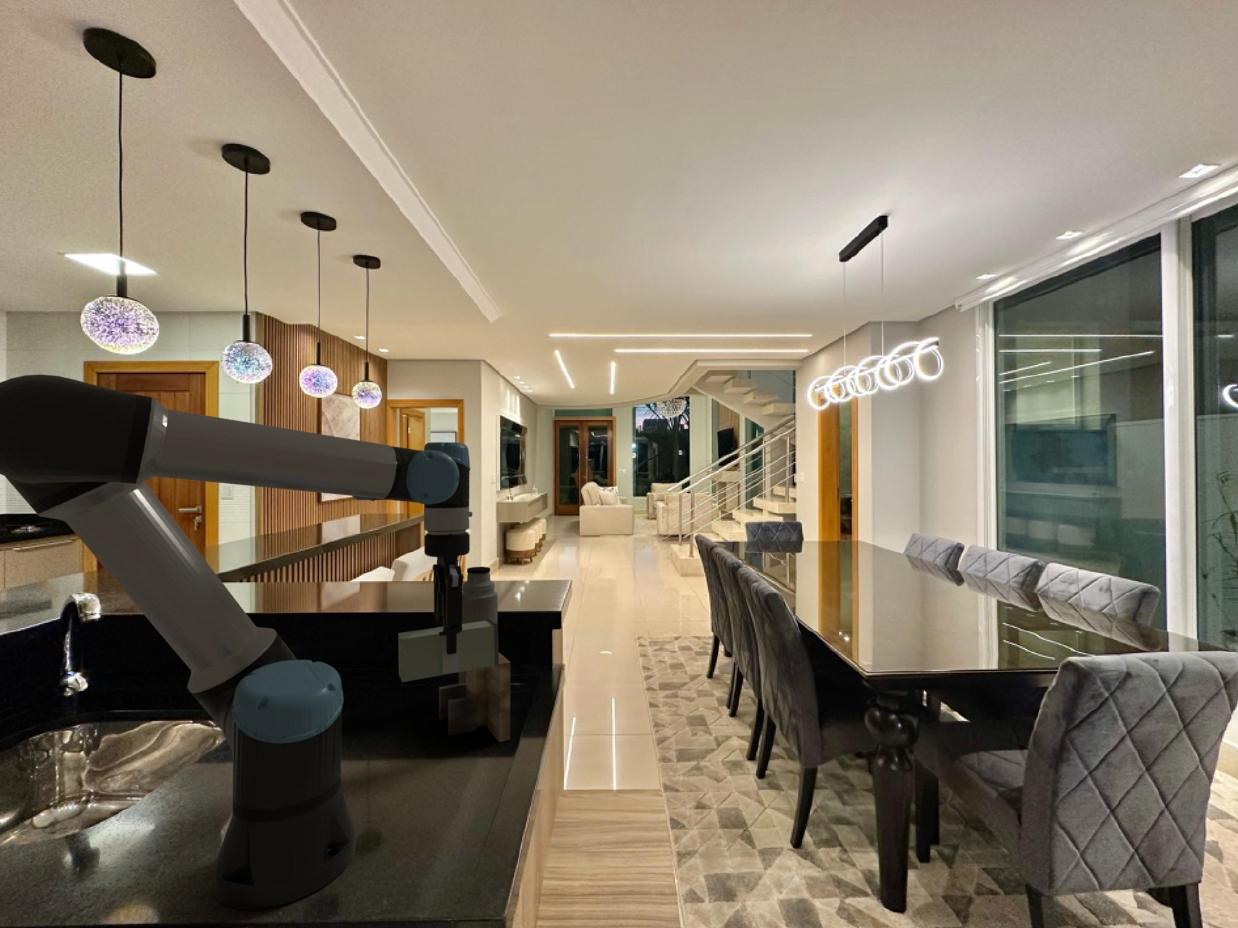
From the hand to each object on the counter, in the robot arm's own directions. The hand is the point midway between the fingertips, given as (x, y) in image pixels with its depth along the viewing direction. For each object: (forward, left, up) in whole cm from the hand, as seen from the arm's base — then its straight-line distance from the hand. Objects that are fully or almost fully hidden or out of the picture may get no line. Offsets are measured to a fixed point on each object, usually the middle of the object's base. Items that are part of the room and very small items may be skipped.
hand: (447, 667), depth 100 cm
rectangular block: (0, 0, 0) cm, 1 cm away
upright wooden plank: (+7, +8, -15) cm, 18 cm away
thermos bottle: (+12, +21, -15) cm, 29 cm away
